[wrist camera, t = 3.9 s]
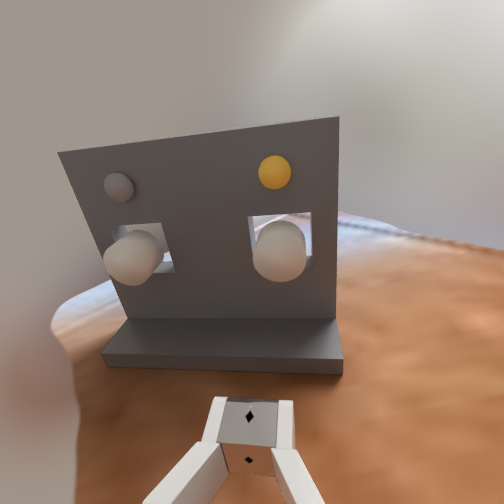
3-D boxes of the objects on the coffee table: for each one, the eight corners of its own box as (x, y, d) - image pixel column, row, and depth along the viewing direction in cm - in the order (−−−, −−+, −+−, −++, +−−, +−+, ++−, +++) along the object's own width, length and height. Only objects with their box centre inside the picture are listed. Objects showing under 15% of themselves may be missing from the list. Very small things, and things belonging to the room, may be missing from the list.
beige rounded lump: (307, 281, 23) (305, 234, 21) (256, 282, 24) (249, 237, 22) (306, 262, 26) (304, 218, 24) (260, 264, 27) (254, 222, 25)
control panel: (342, 374, 25) (352, 120, 16) (107, 366, 29) (1, 163, 20) (332, 315, 32) (334, 114, 23) (143, 316, 36) (78, 148, 27)
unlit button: (155, 285, 26) (140, 243, 24) (113, 286, 27) (96, 245, 25) (168, 267, 29) (156, 228, 27) (130, 269, 30) (116, 231, 28)
